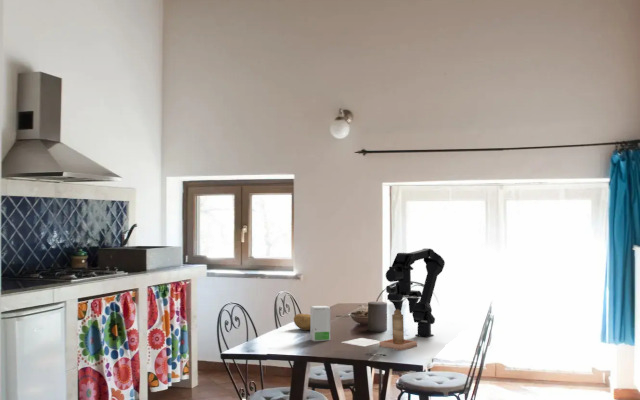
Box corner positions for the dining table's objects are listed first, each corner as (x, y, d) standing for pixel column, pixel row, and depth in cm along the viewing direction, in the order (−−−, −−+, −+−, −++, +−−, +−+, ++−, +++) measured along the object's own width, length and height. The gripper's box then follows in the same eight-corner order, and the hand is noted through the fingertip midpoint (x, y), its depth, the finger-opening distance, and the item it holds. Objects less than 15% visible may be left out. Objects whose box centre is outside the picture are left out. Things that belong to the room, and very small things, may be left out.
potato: (315, 332, 320) (315, 316, 320) (290, 330, 326) (290, 314, 326) (323, 329, 329) (323, 313, 329) (299, 327, 335) (298, 312, 335)
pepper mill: (393, 343, 286) (392, 308, 287) (404, 343, 285) (403, 308, 286) (392, 345, 281) (391, 309, 282) (403, 345, 280) (402, 310, 281)
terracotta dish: (395, 342, 291) (395, 338, 291) (417, 346, 283) (416, 341, 283) (379, 346, 283) (379, 341, 283) (400, 350, 275) (400, 345, 275)
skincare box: (313, 342, 295) (313, 307, 296) (309, 339, 302) (309, 305, 302) (331, 340, 298) (330, 306, 298) (326, 338, 304) (326, 305, 304)
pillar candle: (364, 330, 323) (364, 300, 323) (372, 327, 331) (372, 298, 332) (382, 332, 318) (382, 302, 318) (390, 329, 327) (390, 299, 327)
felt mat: (361, 338, 302) (361, 337, 302) (384, 342, 292) (384, 341, 292) (340, 343, 292) (340, 342, 292) (364, 347, 282) (364, 346, 282)
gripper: (402, 277, 310) (403, 310, 309) (377, 280, 296) (378, 314, 296) (421, 279, 302) (422, 312, 301) (397, 282, 288) (397, 317, 288)
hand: (404, 314), depth 297 cm, fingers open, 9 cm apart
